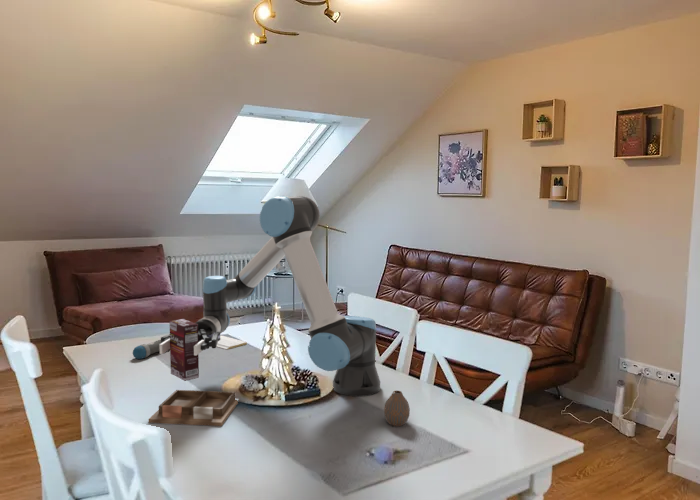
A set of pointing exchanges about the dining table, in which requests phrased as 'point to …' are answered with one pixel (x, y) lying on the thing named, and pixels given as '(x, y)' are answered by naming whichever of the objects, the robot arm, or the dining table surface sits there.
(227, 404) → the organiser board
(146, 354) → the grey and blue cylinder
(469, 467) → the dining table surface
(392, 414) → the vase
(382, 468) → the dining table surface
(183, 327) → the supplement box
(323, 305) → the robot arm
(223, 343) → the baseboard molding
